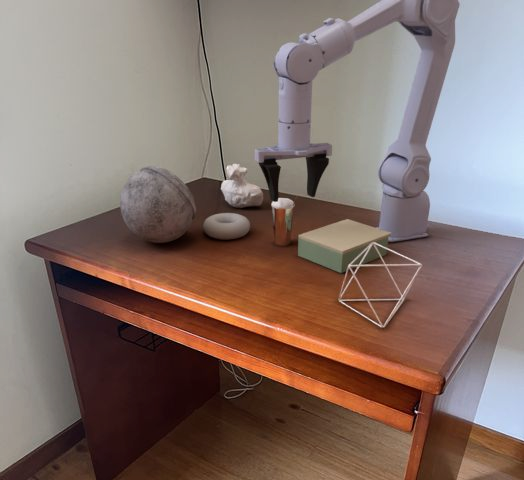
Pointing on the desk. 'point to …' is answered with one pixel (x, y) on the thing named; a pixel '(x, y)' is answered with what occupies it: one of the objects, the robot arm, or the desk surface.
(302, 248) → the lunchbox
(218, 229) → the donut
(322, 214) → the desk surface
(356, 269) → the geometric polyhedron
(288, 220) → the milkshake
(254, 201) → the white lumpy piece
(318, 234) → the lunchbox lid
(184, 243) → the desk surface
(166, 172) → the decorative orb
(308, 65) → the robot arm
